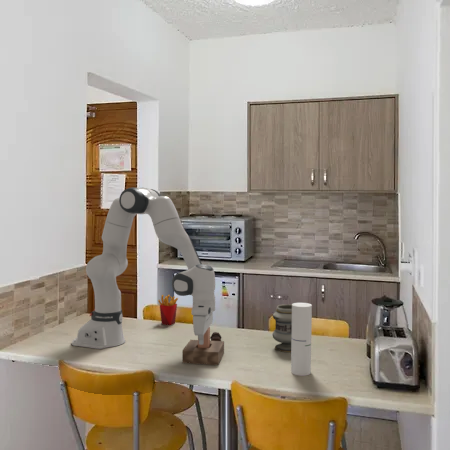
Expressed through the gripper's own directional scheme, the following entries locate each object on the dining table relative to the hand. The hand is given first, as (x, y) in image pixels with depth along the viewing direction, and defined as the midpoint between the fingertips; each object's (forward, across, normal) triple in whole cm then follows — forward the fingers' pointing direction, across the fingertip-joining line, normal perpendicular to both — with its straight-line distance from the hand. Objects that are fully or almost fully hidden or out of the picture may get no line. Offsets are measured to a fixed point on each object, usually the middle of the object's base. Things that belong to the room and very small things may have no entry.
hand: (203, 340), depth 195 cm
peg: (+7, 0, 0) cm, 7 cm away
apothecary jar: (+7, -18, +32) cm, 37 cm away
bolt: (+8, -18, +2) cm, 20 cm away
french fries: (+7, -46, -27) cm, 54 cm away
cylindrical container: (+7, +9, +38) cm, 40 cm away
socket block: (+7, 0, 0) cm, 7 cm away
